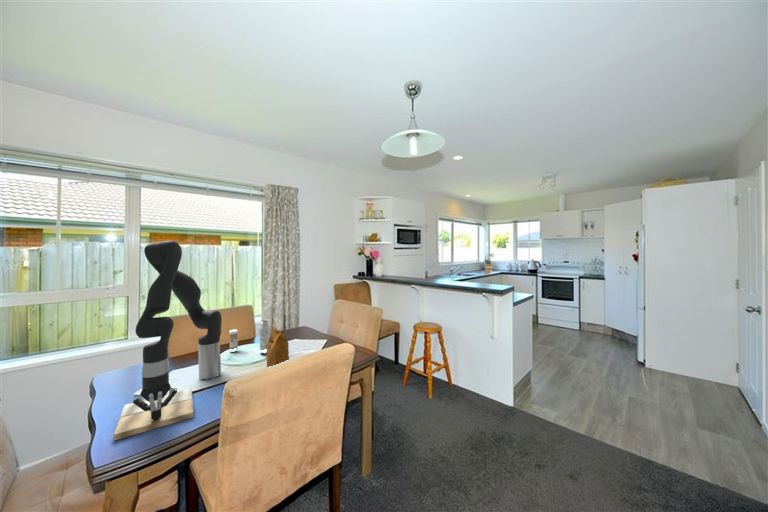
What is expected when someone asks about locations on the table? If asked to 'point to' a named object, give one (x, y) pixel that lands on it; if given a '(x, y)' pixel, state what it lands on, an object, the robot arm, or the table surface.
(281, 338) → the coffee package
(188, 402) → the honey oak plank
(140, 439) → the table surface
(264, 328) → the plastic bottle
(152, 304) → the robot arm
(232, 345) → the sprinkles bottle
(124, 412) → the grey-washed plank
